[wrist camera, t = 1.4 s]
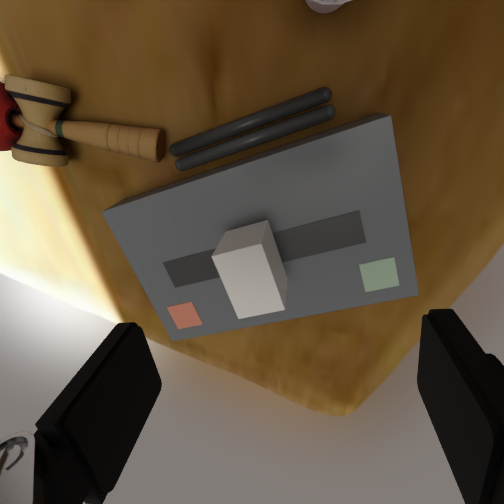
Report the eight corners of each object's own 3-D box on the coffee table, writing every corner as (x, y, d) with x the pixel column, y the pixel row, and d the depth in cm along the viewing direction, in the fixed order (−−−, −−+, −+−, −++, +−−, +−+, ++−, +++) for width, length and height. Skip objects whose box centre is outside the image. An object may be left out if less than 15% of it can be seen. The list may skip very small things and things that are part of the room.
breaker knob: (267, 219, 27) (261, 243, 23) (287, 277, 29) (285, 309, 25) (225, 231, 28) (211, 256, 24) (247, 286, 30) (238, 319, 26)
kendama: (170, 90, 29) (-34, 54, 28) (150, 106, 24) (-99, 63, 23) (170, 168, 34) (-4, 140, 33) (154, 195, 29) (-53, 164, 28)
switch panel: (371, 68, 25) (383, 63, 22) (405, 273, 32) (419, 295, 29) (106, 168, 32) (81, 177, 28) (184, 319, 39) (172, 341, 36)
